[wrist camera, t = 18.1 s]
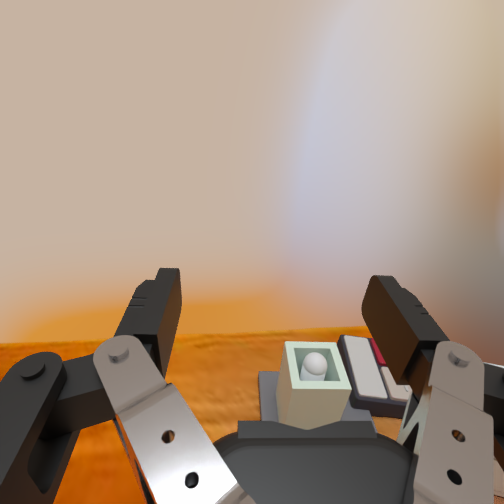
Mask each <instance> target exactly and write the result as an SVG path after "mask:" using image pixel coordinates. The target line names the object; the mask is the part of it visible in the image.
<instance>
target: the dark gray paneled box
mask: <svg viewBox="0 0 504 504" xmlns="http://www.w3.org/2000/svg"><path fill="white" fill-rule="evenodd" d="M337 348H338V351H339V353H340V356H341V359H342V362H343V365H344V368H345V371H346V374H347V377H348V380H349V382H350V385H351V388H352V390H351V393H350V396H349V401H350V405H351V407H352V408H354V409H362V410H369V411H370V414H371V416H375V417H384V416H386V417H394V418H401V419H403V416H404V412H405V409H406V405H407V401H408V398H409V395H410V393H411V391H412V389H411V387H410V385H396V383H395V381H394V379H393V377H392V375H391V373H390V371H389V369H388V367H387V365H386V363H385V361H384V359H383V357H382V355H381V353H380V351H379V349H378V347H377V345H376V343H375V341H374V339H373V338H364V337H357V336H349V335H340V337H339V340H338V343H337Z"/></svg>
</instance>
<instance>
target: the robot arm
mask: <svg viewBox="0 0 504 504" xmlns="http://www.w3.org/2000/svg"><path fill="white" fill-rule="evenodd" d="M181 306H182V295H181V282H180V271H179V269H178V268H160V269H159V271H158V273H157V276H156V278H155V280H145V281H144V282H143V283H142V284H141V285H139V286H138V287H137V288H136V290H135V292H134V294H133V296H132V299H131V301H130V303H129V305H128V307H127V309H126V311H125V313H124V316H123V318H122V320H121V322H120V324H119V326H118V328H117V330H116V333H115V335H114V337H113V338H110V339H108V340H106V341H105V342H103V343H102V344H101V345H100V346H99V347H98V348H97V349H96V351H95V353H93V354H90V355H87V356H84V357H79V358H75V359H71V360H67V361H63V362H62V359H61V357H60V356H59V355H58V354H56V353H53V352H40V353H36V354H32V355H30V356H27V357H25V358H24V359H22V360H20V361H19V362H17V363H16V364H15V365H13V366H12V367H11V368H10V369H9V371H8V372H7V373H6V375H5V376H4V378H3V379H2V381H1V382H0V504H53V502H54V499H55V496H56V494H57V491H58V489H59V486H60V483H61V481H62V478H63V475H64V473H65V470H66V467H67V465H68V462H69V459H70V457H71V454H72V452H73V449H74V446H75V444H76V441H77V438H78V436H79V433H80V430H81V429H83V428H86V427H90V426H93V425H96V424H99V423H102V422H106V421H109V420H112V421H113V423H114V426H115V428H116V430H117V433H118V435H119V438H120V440H121V442H122V445H123V447H124V450H125V452H126V454H127V457H128V459H129V462H130V464H131V466H132V469H133V472H134V474H135V477H136V480H137V483H138V485H139V488H140V490H141V493H142V495H143V498H144V500H145V502H146V504H494V457H495V458H496V460H497V462H498V463H499V465H500V467H501V468H502V470H503V472H504V368H502V367H498V366H494V365H490V364H486V363H483V362H482V360H481V359H480V357H479V356H477V354H476V353H474V352H473V351H472V350H471V349H469V348H467V347H466V346H464V345H462V344H459V343H456V342H452V341H450V340H449V339H448V337H447V336H446V335H445V334H444V332H443V331H442V330H441V328H440V327H439V326H438V325H437V323H436V322H435V321H434V319H433V318H432V317H431V316H430V315H429V314H428V312H427V310H426V309H425V308H424V307H423V305H422V304H421V303H420V301H419V300H418V299H417V298H416V296H414V295H413V294H412V293H410V292H409V291H408V290H406V289H405V288H401V286H400V285H399V284H398V282H397V281H396V280H395V278H394V277H393V276H380V275H374V276H372V277H371V279H370V281H369V285H368V288H367V290H366V293H365V296H364V299H363V302H362V315H363V318H364V321H365V323H366V325H367V327H368V329H369V331H370V333H371V335H372V337H373V339H374V341H375V343H376V345H377V347H378V349H379V351H380V353H381V355H382V357H383V359H384V361H385V363H386V365H387V367H388V369H389V371H390V373H391V375H392V377H393V379H394V381H395V383H396V385H410V387H411V389H412V391H411V393H410V395H409V398H408V401H407V405H406V409H405V412H404V416H403V420H402V424H401V427H400V431H399V434H398V438H397V440H396V441H395V440H393V439H391V438H389V437H387V436H384V435H382V434H379V433H376V432H375V429H374V427H373V424H372V421H337V422H334V423H330V424H327V425H323V426H320V427H317V428H313V429H310V430H305V429H301V428H297V427H293V426H290V425H286V424H282V423H278V422H274V421H238V430H237V432H234V433H231V434H228V435H226V436H224V437H222V438H220V439H219V440H217V441H215V442H214V443H213V444H212V442H211V441H210V439H209V438H208V436H207V434H206V433H205V431H204V430H203V428H202V427H201V425H200V424H199V422H198V421H197V419H196V417H195V416H194V414H193V413H192V411H191V410H190V408H189V407H188V405H187V403H186V402H185V400H184V399H183V397H182V396H181V394H180V393H179V391H178V390H177V388H176V387H175V386H174V385H173V384H172V383H169V384H167V383H166V382H165V375H166V371H167V367H168V363H169V359H170V355H171V351H172V346H173V342H174V338H175V334H176V330H177V326H178V322H179V317H180V313H181Z"/></svg>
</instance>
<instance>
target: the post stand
mask: <svg viewBox="0 0 504 504" xmlns="http://www.w3.org/2000/svg"><path fill="white" fill-rule="evenodd" d="M326 371H327V361H326V359H325V358H324V356H323V355H321V354H319V353H316V352H313V353H309V354H308V355H307V356H306V357H305V358H304V360H303V365H302V369H301V373H300V381H324V378H325V375H326ZM278 378H279V372H272V371H259V374H258V382H259V398H260V415H261V421H274V422H278V423H279V420H278V410H277V401H276V390H277V384H278ZM340 421H372V424H373V427H374V429H375V432H376V433H378V432H377V430H376V427H375V425H374V422H373V419H372V417H371V414H370V411H369V410H362V409H354V408H352V407H351V405H350V401H349V398H348V401H347V403H346V406H345V409H344V411H343V414H342V416H341V419H340Z"/></svg>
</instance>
